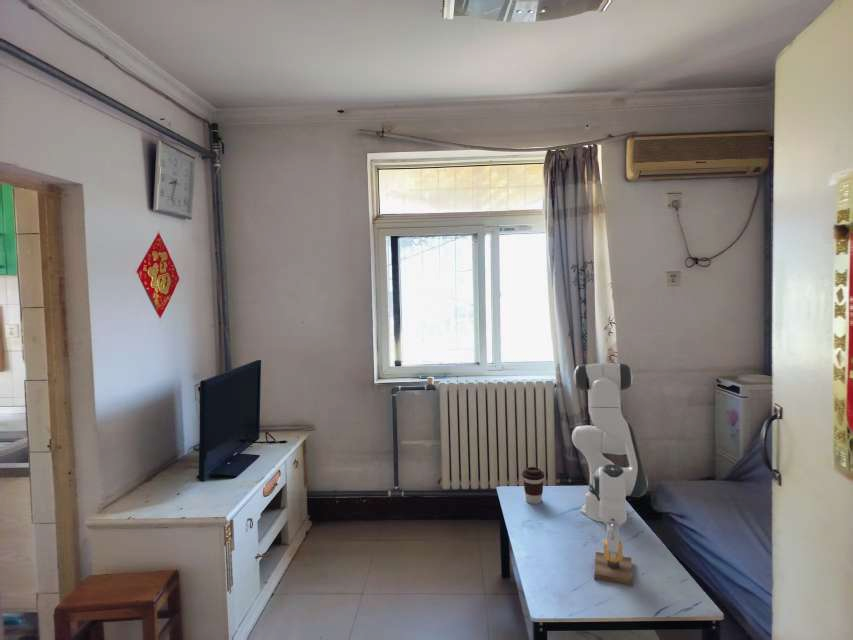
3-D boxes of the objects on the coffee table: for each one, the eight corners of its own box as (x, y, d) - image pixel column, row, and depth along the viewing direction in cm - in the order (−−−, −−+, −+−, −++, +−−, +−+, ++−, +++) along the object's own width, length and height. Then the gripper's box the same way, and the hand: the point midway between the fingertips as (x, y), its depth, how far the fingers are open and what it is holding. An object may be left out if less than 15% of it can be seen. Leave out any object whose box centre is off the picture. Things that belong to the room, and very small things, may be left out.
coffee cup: (540, 507, 216) (539, 475, 215) (519, 502, 221) (519, 471, 220) (547, 498, 224) (547, 467, 223) (527, 494, 230) (526, 464, 228)
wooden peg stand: (595, 557, 176) (595, 533, 175) (631, 562, 172) (631, 538, 171) (594, 579, 163) (594, 554, 162) (632, 586, 159) (632, 560, 158)
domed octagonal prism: (603, 550, 171) (603, 536, 170) (622, 553, 169) (622, 539, 168) (603, 559, 165) (603, 545, 165) (622, 562, 163) (622, 548, 162)
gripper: (623, 529, 155) (623, 569, 156) (622, 501, 174) (622, 538, 175) (602, 526, 157) (602, 566, 158) (603, 499, 176) (604, 535, 177)
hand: (613, 551), depth 167 cm, fingers closed on domed octagonal prism, 6 cm apart
